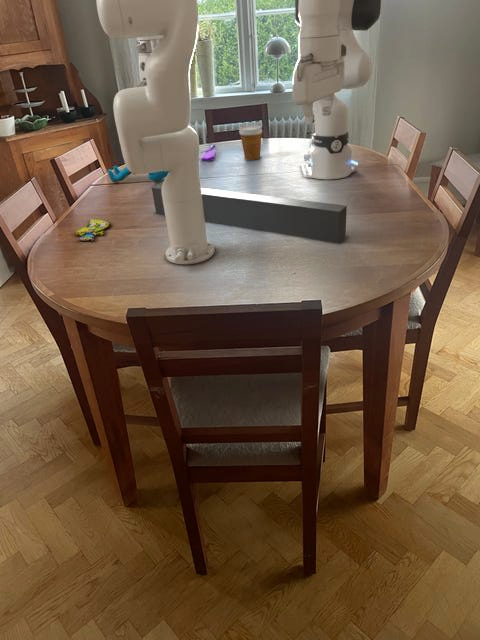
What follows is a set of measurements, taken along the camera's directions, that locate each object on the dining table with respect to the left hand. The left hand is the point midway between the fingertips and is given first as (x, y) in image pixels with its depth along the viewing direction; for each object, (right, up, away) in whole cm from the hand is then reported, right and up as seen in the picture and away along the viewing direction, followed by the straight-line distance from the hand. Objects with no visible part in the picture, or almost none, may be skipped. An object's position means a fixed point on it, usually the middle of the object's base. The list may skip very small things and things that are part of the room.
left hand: (163, 116), depth 135 cm
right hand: (+40, -10, -23) cm, 48 cm away
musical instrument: (+5, +14, +73) cm, 75 cm away
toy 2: (-13, -4, +49) cm, 51 cm away
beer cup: (+27, +10, +64) cm, 70 cm away
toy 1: (-22, -31, +8) cm, 39 cm away
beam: (+22, -29, +4) cm, 37 cm away
